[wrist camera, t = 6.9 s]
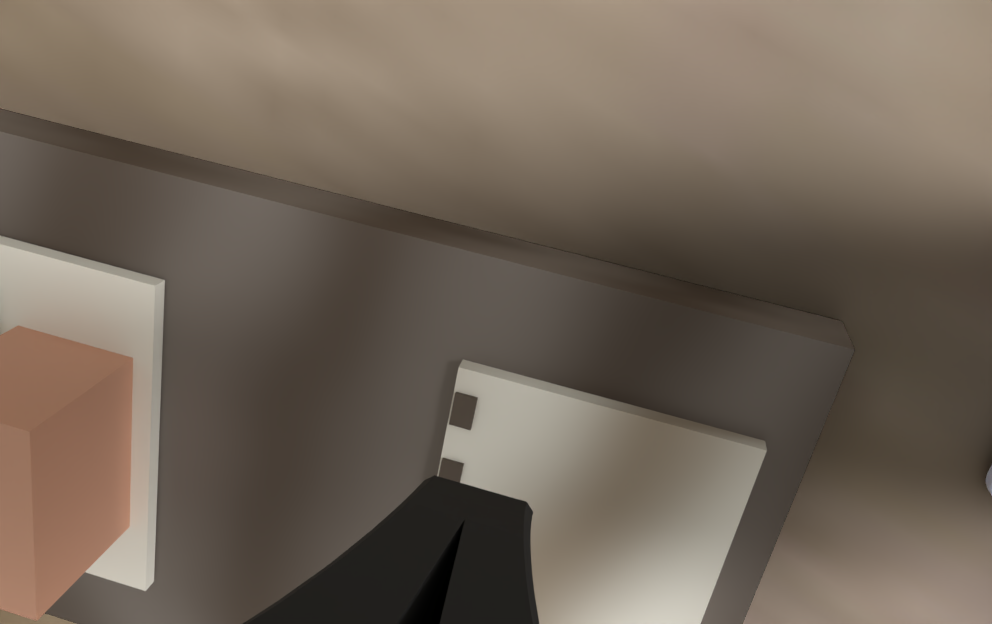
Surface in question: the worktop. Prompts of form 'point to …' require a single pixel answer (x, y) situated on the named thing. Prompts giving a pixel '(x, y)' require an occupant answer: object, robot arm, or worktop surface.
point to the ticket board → (427, 390)
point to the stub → (76, 424)
